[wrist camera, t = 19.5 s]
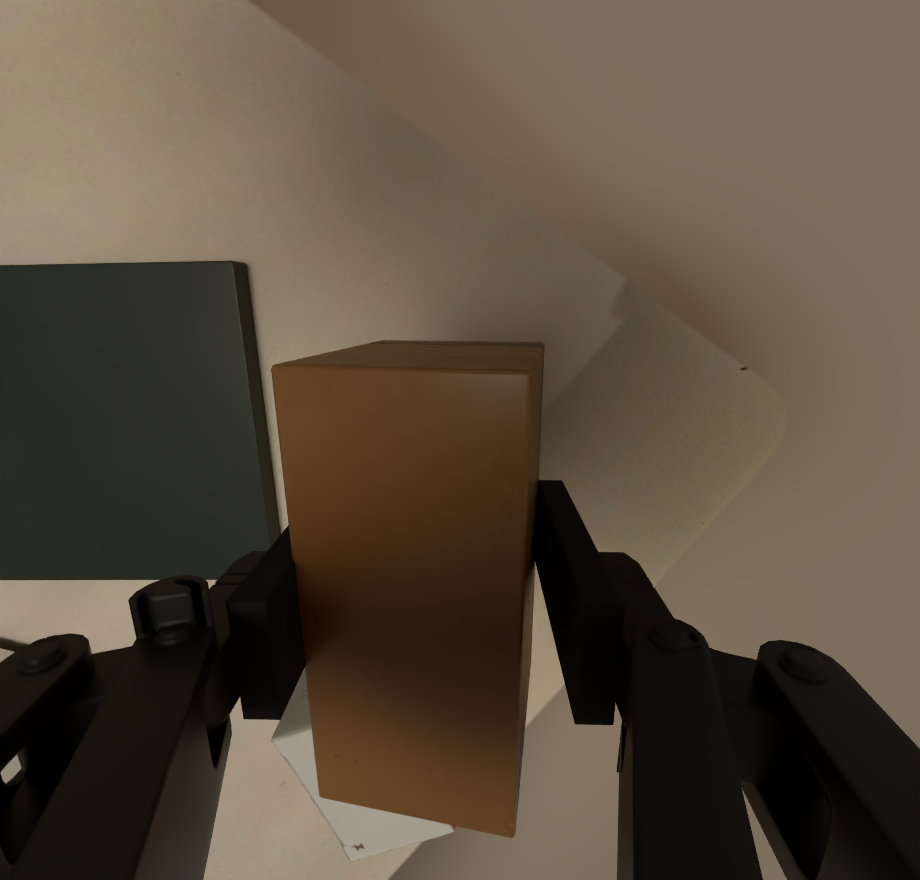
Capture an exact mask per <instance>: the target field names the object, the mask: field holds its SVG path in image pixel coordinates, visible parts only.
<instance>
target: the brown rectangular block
mask: <svg viewBox="0 0 920 880" xmlns="http://www.w3.org/2000/svg"><path fill="white" fill-rule="evenodd" d="M544 351H545V345H544V343H542V342H480V341H400V340H381V341H377V342H372V343H369V344H363V345H359V346H355V347H350V348H346V349H341V350H337V351H332V352H328V353H324V354H319V355H315V356H310V357H306V358H301V359H297V360H293V361H288V362H284V363H279V364H275V365H273V366H272V369H271V371H272V380H273V389H274V398H275V407H276V416H277V425H278V434H279V443H280V451H281V460H282V469H283V478H284V487H285V496H286V505H287V514H288V523H289V532H290V540H291V549H292V558H293V560H294V562H295V571H296V580H297V589H298V598H299V607H300V616H301V625H302V634H303V643H304V652H305V661H306V666H305V674H306V683H307V692H308V701H309V710H310V718H311V727H312V736H313V745H314V754H315V763H316V772H317V781H318V790H319V796H320V797H321V798H325V799H330V800H334V801H339V802H344V803H348V804H353V805H358V806H363V807H367V808H372V809H377V810H382V811H386V812H391V813H396V814H401V815H405V816H410V817H415V818H420V819H424V820H429V821H434V822H438V823H443V824H448V825H453V826H458V827H462V828H467V829H472V830H476V831H481V832H486V833H491V834H496V835H501V836H505V837H510V838H512V837H514V835H515V832H516V820H517V809H518V799H519V788H520V777H521V766H522V755H523V744H524V733H525V722H526V711H527V699H528V688H529V677H530V666H531V649H532V626H533V603H534V580H535V554H536V531H537V508H538V485H539V465H540V442H541V419H542V396H543V373H544Z"/></svg>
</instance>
